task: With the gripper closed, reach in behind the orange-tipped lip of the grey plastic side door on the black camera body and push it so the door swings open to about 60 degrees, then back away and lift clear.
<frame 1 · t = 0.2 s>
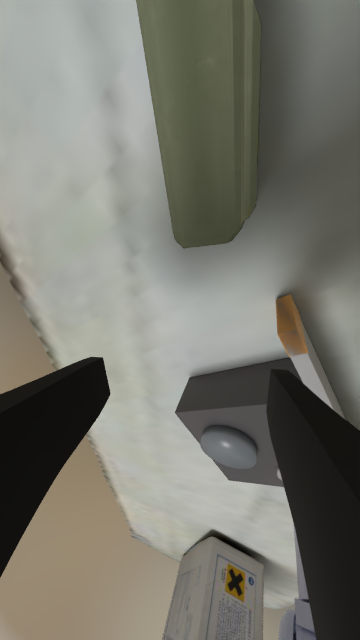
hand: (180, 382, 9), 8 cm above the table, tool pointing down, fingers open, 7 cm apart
camera body: (259, 407, 19), on the table
side door: (327, 402, 14), point 2 cm above the table, hinge at 0.0°
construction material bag: (213, 554, 53), on the table
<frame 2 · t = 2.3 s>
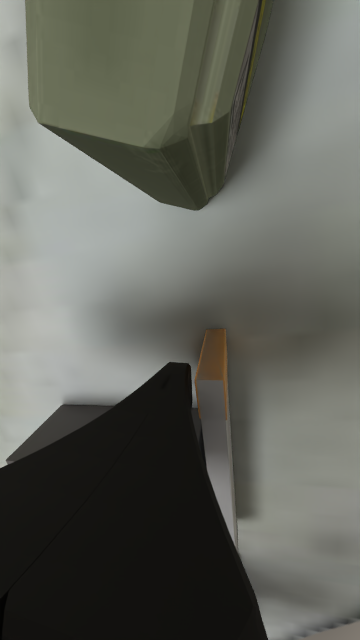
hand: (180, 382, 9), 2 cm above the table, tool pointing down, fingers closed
camera body: (142, 462, 15), on the table
side door: (224, 480, 10), point 2 cm above the table, hinge at 2.1°, touching gripper
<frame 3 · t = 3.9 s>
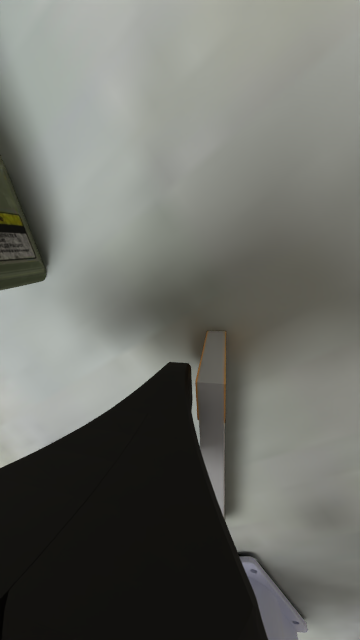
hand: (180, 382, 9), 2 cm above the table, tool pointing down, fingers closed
side door: (216, 480, 11), point 2 cm above the table, hinge at 30.3°, touching gripper
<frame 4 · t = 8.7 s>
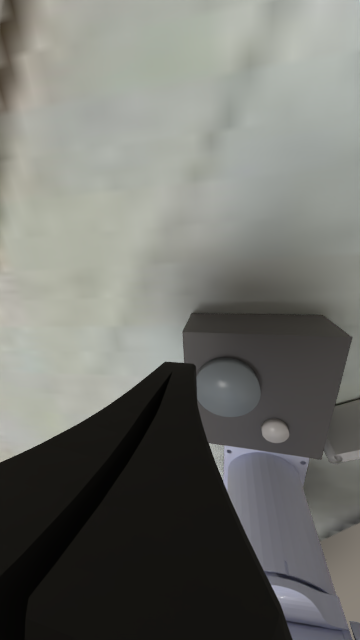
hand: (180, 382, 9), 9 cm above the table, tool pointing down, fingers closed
camera body: (249, 367, 18), on the table
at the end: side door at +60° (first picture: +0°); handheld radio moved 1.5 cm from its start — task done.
